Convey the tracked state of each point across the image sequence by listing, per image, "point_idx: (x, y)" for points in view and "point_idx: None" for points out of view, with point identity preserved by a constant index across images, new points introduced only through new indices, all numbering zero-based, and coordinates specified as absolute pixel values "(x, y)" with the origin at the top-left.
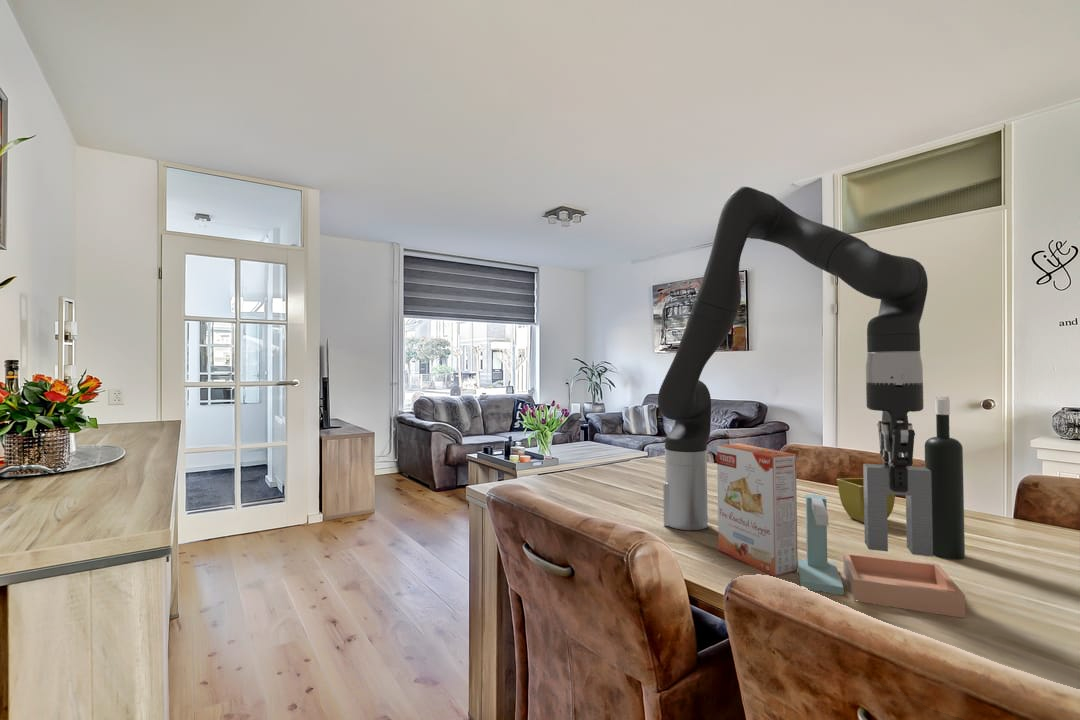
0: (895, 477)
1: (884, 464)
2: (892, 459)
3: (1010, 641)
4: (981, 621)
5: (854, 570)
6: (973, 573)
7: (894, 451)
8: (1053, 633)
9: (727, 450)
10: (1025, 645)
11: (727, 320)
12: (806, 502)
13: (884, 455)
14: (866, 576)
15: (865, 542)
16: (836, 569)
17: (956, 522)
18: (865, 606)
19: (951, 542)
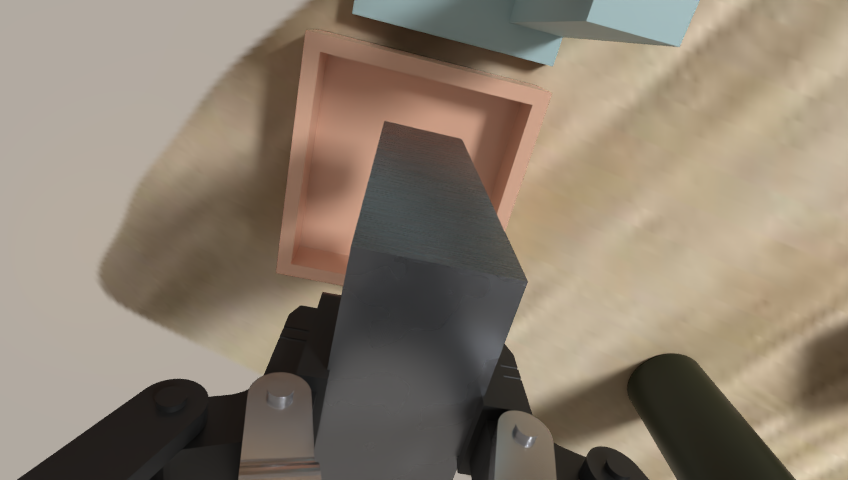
0: (278, 346)
1: (508, 398)
2: (157, 411)
3: (202, 274)
4: None
5: (386, 64)
6: (545, 378)
7: (32, 475)
8: (266, 357)
9: None
10: (194, 290)
11: None
12: None
13: (495, 448)
14: (469, 125)
15: (446, 136)
16: (497, 48)
17: (670, 462)
18: (292, 48)
19: (647, 409)
